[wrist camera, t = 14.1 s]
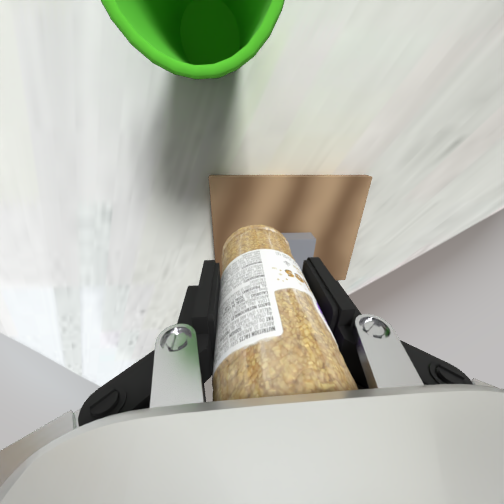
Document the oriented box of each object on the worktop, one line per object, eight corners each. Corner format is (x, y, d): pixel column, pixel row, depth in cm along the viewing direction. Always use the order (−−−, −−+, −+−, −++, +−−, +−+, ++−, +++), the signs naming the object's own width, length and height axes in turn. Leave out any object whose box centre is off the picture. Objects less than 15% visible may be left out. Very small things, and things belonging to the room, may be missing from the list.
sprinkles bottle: (300, 260, 15) (562, 737, 3) (245, 291, 16) (287, 753, 4) (266, 207, 13) (644, 980, 1) (205, 246, 14) (54, 906, 2)
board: (366, 175, 25) (372, 176, 24) (341, 275, 32) (345, 279, 31) (209, 175, 24) (208, 177, 23) (217, 279, 30) (217, 284, 29)
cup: (225, 126, 22) (218, 119, 12) (137, 51, 19) (33, -40, 9) (284, 31, 19) (339, -80, 9) (191, -78, 16) (123, -425, 6)
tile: (316, 239, 25) (246, 240, 24) (308, 288, 28) (246, 290, 28) (310, 231, 27) (245, 233, 26) (303, 278, 30) (245, 280, 29)
